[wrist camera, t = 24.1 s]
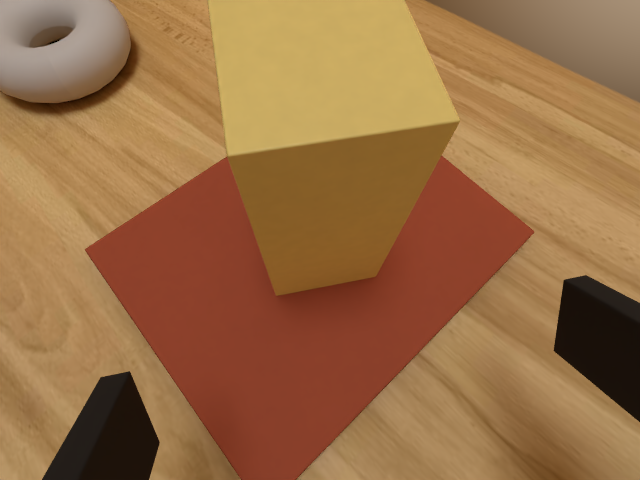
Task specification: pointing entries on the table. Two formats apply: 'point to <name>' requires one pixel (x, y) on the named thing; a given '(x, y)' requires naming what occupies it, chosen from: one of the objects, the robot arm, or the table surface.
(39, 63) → the donut
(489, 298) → the table surface
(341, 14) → the carton
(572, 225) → the table surface
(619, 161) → the table surface
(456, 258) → the mat
